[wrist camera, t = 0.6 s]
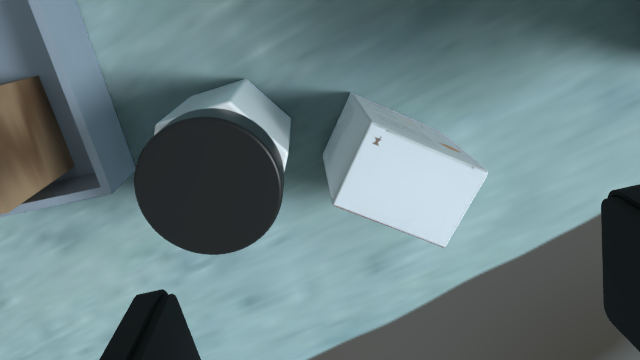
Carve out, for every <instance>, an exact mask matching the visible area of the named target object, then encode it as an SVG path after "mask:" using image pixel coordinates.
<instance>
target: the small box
mask: <svg viewBox="0 0 640 360" xmlns="http://www.w3.org/2000/svg"><path fill="white" fill-rule="evenodd" d="M323 160H324V165H325V170H326V175H327V180H328V185H329V191H330V195H331V200H332V204H333V206H336V207H339V208H342V209H344V210H347V211H349V212H352V213H355V214H357V215H360V216H363V217H365V218H368V219H370V220H373V221H376V222H378V223H381V224H384V225H386V226H389V227H391V228H394V229H396V230H399V231H402V232H404V233H407V234H410V235H412V236H415V237H417V238H420V239H423V240H425V241H428V242H430V243H433V244H436V245H438V246H441V247H443V248H445V247H446V245H447V243H448V242H449V240H450V238H451V237H452V235H453V233H454V231H455V230H456V228H457V226H458V225H459V223H460V221H461V220H462V218H463V216H464V214H465V213H466V211H467V209H468V208H469V206H470V204H471V202H472V201H473V199H474V197H475V196H476V194H477V192H478V191H479V189H480V187H481V185H482V184H483V182H484V180H485V179H486V177H487V175H488V171H487V170H486V169H485V168H484V167H483V166H482V165H480V164H479V163H478V162H477V161H476V160H474V159H473V158H472V157H471V156H470V155H469V154H467V153H466V152H465V151H464V150H462V149H461V148H460V147H459V146H458V145H456V144H455V143H454V142H453V141H452V140H451V139H449V138H448V137H447V136H446V135H445V134H443V133H442V132H441V131H440V130H438V129H435V128H433V127H430V126H428V125H426V124H423V123H421V122H419V121H417V120H414V119H412V118H410V117H407V116H405V115H403V114H400V113H398V112H396V111H393V110H391V109H389V108H386V107H384V106H382V105H379V104H377V103H374V102H372V101H370V100H368V99H365V98H363V97H361V96H358V95H356V94H354V93H350V95H349V97H348V100H347V102H346V104H345V106H344V108H343V111H342V113H341V115H340V117H339V119H338V122H337V124H336V126H335V128H334V130H333V132H332V135H331V137H330V139H329V141H328V144H327V146H326V148H325V150H324V152H323Z"/></svg>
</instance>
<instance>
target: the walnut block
mask: <svg viewBox="0 0 640 360" xmlns="http://www.w3.org/2000/svg"><path fill="white" fill-rule="evenodd" d="M74 166H75V164H74V162H73V160H72V157H71V155H70V152H69V150H68V147H67V145H66V142H65V140H64V137H63V135H62V132H61V130H60V127H59V125H58V122H57V120H56V117H55V115H54V112H53V110H52V107H51V105H50V102H49V100H48V97H47V95H46V93H45V90H44V88H43V85H42V83H41V80H40V78H39V76H34V77H30V78H25V79H21V80H16V81H12V82H7V83H3V84H0V214H5V213H9V212H10V211H12V210H13V209H14V208H16V207H17V206H19V205H20V204H22V203H23V202H24V201H26V200H27V199H29V198H30V197H32V196H33V195H34V194H36V193H37V192H39V191H40V190H41V189H43V188H44V187H46V186H47V185H49V184H50V183H51V182H53V181H54V180H56V179H57V178H59V177H60V176H61V175H63V174H64V173H66V172H67V171H68V170H70V169H71V168H73V167H74Z"/></svg>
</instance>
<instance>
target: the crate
mask: <svg viewBox="0 0 640 360" xmlns="http://www.w3.org/2000/svg"><path fill="white" fill-rule="evenodd" d="M34 76H39V78H40V80H41V83H42V85H43V88H44V90H45V93H46V95H47V97H48V100H49V102H50V105H51V107H52V110H53V112H54V115H55V117H56V120H57V122H58V125H59V127H60V130H61V132H62V135H63V137H64V140H65V142H66V145H67V147H68V150H69V152H70V155H71V157H72V160H73V162H74V164H75V166H74V167H73V168H71V169H70V170H68V171H67V172H66V173H64V174H63V175H61V176H60V177H59V178H57V179H56V180H54V181H53V182H51V183H50V184H49V185H47V186H46V187H44V188H43V189H41V190H40V191H39V192H37V193H36V194H34V195H33V196H32V197H30V198H29V199H27V200H26V201H24V202H23V203H22V204H20V205H19V206H17V207H16V208H14V209H13V210H12V211H10V212H9V213H5V214H0V217H4V216H8V215H13V214H18V213H23V212H27V211H32V210H37V209H42V208H46V207H51V206H56V205H60V204H65V203H70V202H75V201H79V200H84V199H89V198H93V197H98V196H103V195H108V194H112V193H113V192H114V191H115V190H116V189H117V188H118V187H119V186H120V185H121V184H122V183H123V182H124V181H125V180H126V179H127V178H128V177H129V176H131V175H132V174H133V173H134V172H135V170H136V167H135V164H134V162H133V159H132V156H131V153H130V150H129V148H128V145H127V142H126V139H125V137H124V134H123V131H122V128H121V125H120V123H119V120H118V117H117V114H116V111H115V109H114V106H113V103H112V100H111V97H110V95H109V92H108V89H107V86H106V84H105V81H104V78H103V75H102V72H101V70H100V67H99V64H98V61H97V58H96V56H95V53H94V50H93V47H92V44H91V42H90V39H89V36H88V33H87V30H86V28H85V25H84V22H83V19H82V17H81V14H80V11H79V8H78V5H77V3H76V0H0V84H3V83H7V82H12V81H16V80H21V79H25V78H30V77H34Z"/></svg>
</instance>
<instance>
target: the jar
mask: <svg viewBox="0 0 640 360" xmlns="http://www.w3.org/2000/svg"><path fill="white" fill-rule="evenodd" d="M290 129H291V118H290V117H289V116H288V115H286V114H285V113H284V112H283V111H282V110H281V109H280V108H279V107H277V106H276V105H275V104H274V103H273V102H272V101H271V100H270V99H268V98H267V97H266V96H265V95H264V94H263V93H262V92H261V91H260V90H258V89H257V88H256V87H255V86H254V85H253V84H252V83H251V82H250V81H248V80H247V79H243V80H240V81H237V82H234V83H231V84H228V85H224V86H221V87H218V88H215V89H212V90H209V91H206V92H202V93H199V94H196V95H193V96H190V97H189V98H188V99H187V100H185V101H184V102H183V103H182V104H180V105H179V106H178V107H177V108H175V109H174V110H173V111H172V112H170V113H169V114H168V115H167V116H166V117H164V118H163V119H162V120H161V121H159V122H158V123H157V124H156V125H155V131H154V136H153V137H152V138H151V139H150V141H149V142H148V143H147V144H146V146H145V147H144V149H143V150H142V152H141V154H140V156H139V159H138V162H137V165H136V170H135V177H134V187H135V194H136V198H137V202H138V205H139V207H140V209H141V212H142V213H143V215H144V217H145V219H146V220H147V221H148V223H149V224H150V225H151V226H152V228H153V229H154V230H155V231H156V232H157V233H158V234H159V235H161V236H162V237H163V238H164V239H166V240H167V241H169V242H170V243H172V244H174V245H176V246H178V247H180V248H182V249H185V250H188V251H191V252H195V253H200V254H209V255H218V254H226V253H231V252H235V251H238V250H241V249H243V248H245V247H247V246H249V245H251V244H253V243H254V242H256V241H257V240H258V239H260V238H261V237H262V236H263V235H264V234H265V233H266V232H267V231H268V230H269V228H270V227H271V226H272V224H273V223H274V221H275V219H276V217H277V215H278V213H279V210H280V207H281V203H282V197H283V187H284V172H285V167H286V162H287V158H288V152H289V140H290Z"/></svg>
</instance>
